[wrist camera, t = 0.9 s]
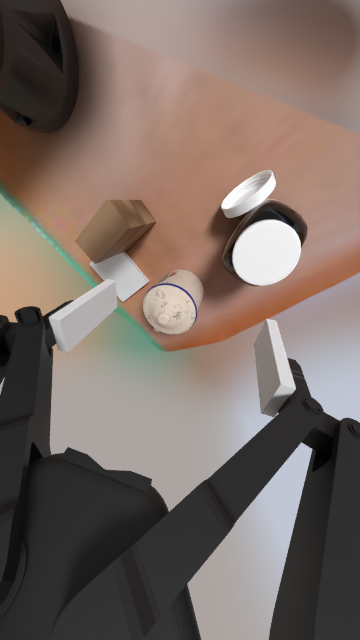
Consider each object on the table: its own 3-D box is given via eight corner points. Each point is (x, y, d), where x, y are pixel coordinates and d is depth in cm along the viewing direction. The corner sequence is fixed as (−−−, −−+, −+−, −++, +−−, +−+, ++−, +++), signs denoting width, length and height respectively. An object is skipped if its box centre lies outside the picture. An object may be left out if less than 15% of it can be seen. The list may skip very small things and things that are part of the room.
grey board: (92, 262, 41) (89, 264, 40) (114, 238, 37) (111, 239, 36) (124, 300, 43) (122, 302, 42) (149, 281, 39) (147, 282, 38)
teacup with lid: (173, 257, 36) (149, 278, 26) (214, 285, 36) (205, 316, 27) (147, 304, 42) (120, 335, 33) (182, 327, 43) (165, 363, 33)
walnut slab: (112, 231, 36) (74, 241, 28) (141, 200, 32) (106, 200, 24) (127, 250, 37) (95, 264, 29) (156, 221, 33) (128, 228, 25)
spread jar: (254, 277, 34) (260, 308, 24) (200, 240, 33) (184, 256, 23) (315, 208, 27) (356, 213, 17) (249, 159, 26) (253, 135, 17)
